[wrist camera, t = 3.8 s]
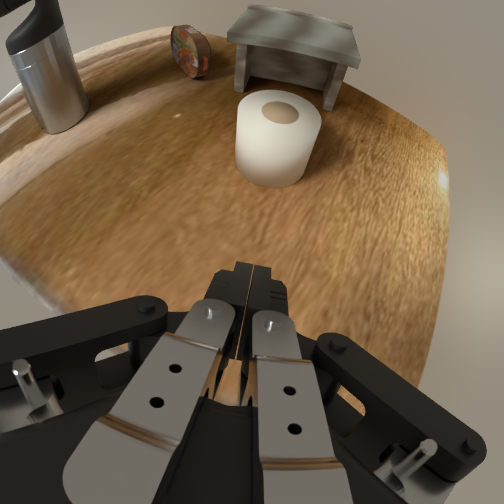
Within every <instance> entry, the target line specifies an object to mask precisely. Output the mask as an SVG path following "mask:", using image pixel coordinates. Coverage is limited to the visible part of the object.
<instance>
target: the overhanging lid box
mask: <svg viewBox="0 0 504 504" xmlns="http://www.w3.org/2000/svg"><path fill="white" fill-rule="evenodd" d="M352 29H353V27H352V25H349V24H345V23H342V22H339V21H335V20H332V19H328V18H324V17H320V16H315V15H312V14H307V13H303V12H298V11H293V10H286V9H281V8H274V7H267V6H260V5H252V4H250V5H249V6H248V9H247V10H246V11H245V12H244V13H243V14H242V16H241V17H240V18H239V19H238V20H237V22H236V23H235V24H234V25H233V26H232V27H231V28H230V30H229V31H228V32H227V42H232V43H237V49H236V64H235V80H234V91H235V92H242V93H243V91H244V89H245V87H246V84H247V82H248V80H249V77H250V76H255V77H261V78H267V79H272V80H277V81H282V82H287V83H292V84H297V85H301V86H305V87H309V88H313V89H317V90H321V91H323V109H324V110H327V111H331V112H332V109H333V106H334V103H335V101H336V98H337V95H338V93H339V90H340V87H341V84H342V81H343V79H344V76H345V73H346V70H347V68H348V66H349V67H352V68H356V69H358V67H359V64H360V61H361V58H360V54H359V51H358V48H357V45H356V41H355V38H354V35H353V33H352Z"/></svg>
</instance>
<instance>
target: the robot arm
mask: <svg viewBox="0 0 504 504" xmlns="http://www.w3.org/2000/svg"><path fill="white" fill-rule="evenodd" d="M29 1H31V0H0V17H3V16H5V15H7V14H8V13H10V12H11V11H13V10H15V9H17V8H18V7H20V6H22V5H23V4H25V3H27V2H29ZM6 48H7V51H8V53H9V56H10V58H11V60H12V63H13V66H14V68H15V70H16V72H17V75H18V77H19V79H20V81H21V84H22V86H23V89H22V92H23V94H24V96H25V98H26V100H27V102H28V104H29V106H30V108H31V110H32V112H33V114H34V116H35V118H36V120H37V122H38V124H39V126H40V127H41V128H44V130H45V132H47V133H49V134H56V133H60V132H63V131H65V130H67V129H69V128H70V127H72V126H73V125H75V124H76V123H77V122H79V121H80V120H81V119H82V118H83V117H84V116H85V114H86V113H87V111H88V109H89V102H88V99H87V96H86V94H85V91H84V88H83V85H82V82H81V79H80V76H79V73H78V70H77V67H76V64H75V61H74V57H73V54H72V51H71V47H70V44H69V41H68V37H67V34H66V30H65V26H64V23H63V19H62V15H61V11H60V7H59V3H58V0H35V7H34V9H33V10H32V12H31V13H30V14H29V16H28V17H27V18H26V19H25V20H24V21H23V23H21V24H20V25H19V26H18V27H17V28H16V29H15V30H14V31H13V32H12V33H11V34H10V36H9V37H8V38H7V40H6ZM252 268H253V264H249V263H244V262H239V261H237V262H236V265H235V268H234V271H228V270H223V269H222V270H220V271H219V272H217V273H215V275H214V277H213V279H212V281H211V284H210V286H209V288H208V290H207V292H206V294H205V297H204V299H202V300H199V301H197V302H196V303H195V304H194V305H193V306H192V308H191V309H190V311H188V312H168V306H167V304H166V303H165V302H164V301H163V300H162V299H160V298H157V297H154V296H148V295H142V296H136V297H132V298H128V299H124V300H120V301H116V302H113V303H109V304H105V305H101V306H97V307H93V308H89V309H85V310H81V311H77V312H73V313H69V314H65V315H61V316H57V317H53V318H49V319H45V320H41V321H37V322H33V323H28V324H24V325H20V326H16V327H12V328H8V329H3V330H0V504H444V502H445V500H446V499H447V497H448V496H449V494H450V492H451V491H452V489H453V487H454V486H455V484H456V483H457V482H459V481H460V480H461V479H462V478H464V477H465V476H466V475H467V474H469V473H470V472H471V471H472V470H473V469H475V468H476V467H477V466H478V465H479V464H481V463H482V462H483V461H484V459H485V457H486V452H487V450H486V445H485V442H484V440H483V439H482V437H481V436H480V435H479V434H478V433H477V432H475V431H474V430H473V429H471V428H470V427H468V426H467V425H466V424H464V423H463V422H461V421H460V420H459V419H457V418H456V417H455V416H453V415H452V414H451V413H449V412H448V411H446V410H445V409H444V408H442V407H441V406H440V405H438V404H437V403H435V402H434V401H433V400H431V399H430V398H429V397H427V396H426V395H425V394H423V393H422V392H421V391H419V390H418V389H417V388H415V387H414V386H412V385H411V384H410V383H408V382H407V381H406V380H404V379H403V378H402V377H400V376H399V375H398V374H396V373H395V372H394V371H392V370H391V369H390V368H388V367H387V366H386V365H384V364H383V363H382V362H380V361H379V360H377V359H376V358H375V357H373V356H372V355H371V354H369V353H368V352H367V351H365V350H364V349H363V348H361V347H360V346H359V345H357V344H356V343H355V342H354V341H352V340H351V339H349V338H348V337H346V336H344V335H341V334H338V333H324V334H321V335H320V336H319V337H318V339H317V341H315V340H313V339H310V338H307V337H305V336H302V335H301V334H299V333H297V332H296V329H295V325H294V322H293V321H292V320H291V318H289V314H288V301H287V288H286V286H285V285H284V284H283V283H282V281H278V280H273V279H271V268H269V267H264V266H259V265H255V266H254V270H253V275H252V280H251V285H250V279H251V274H252ZM249 285H250V289H249ZM248 290H249V294H248ZM247 296H248V299H247ZM246 301H247V304H246ZM245 307H246V309H245ZM244 312H245V315H244ZM243 316H244V320H243ZM242 321H243V326H242ZM241 326H242V331H241ZM240 331H241V337H240V342H239V348H238V353H237V359H236V360H240V361H242V365H241V370H240V374H239V382H238V403H237V406H227V405H223V404H221V403H219V402H216V401H215V399H216V396H217V393H218V391H219V388H220V385H221V382H222V379H223V376H224V372H225V368H226V367H227V365H228V361H229V358H230V359H235V355H236V350H237V345H238V340H239V336H240ZM125 343H128V349H129V351H127V352H124V353H121V354H118V355H115V356H113V357H109V358H107V359H103V360H100V361H97V362H95V357H96V356H97V354H98V353H100V352H101V351H103V350H106V349H109V348H112V347H116V346H119V345H122V344H125ZM341 385H342V386H343V387H344V388H346V389H347V390H348V391H349V392H350V393H351V394H353V395H354V396H355V397H356V398H357V399H358V400H360V401H361V402H362V403H363V405H364V407H365V411H366V412H365V416H363V415H362V414H360V413H359V412H358V411H357V410H356V409H355V408H353V407H352V406H351V405H350V404H349V403H348V402H346V401H345V400H344V399H343V398H342V397H341V396H340V395H339V394H337V392H338V390H339V388H340V387H341Z"/></svg>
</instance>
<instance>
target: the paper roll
mask: <svg viewBox="0 0 504 504" xmlns="http://www.w3.org/2000/svg"><path fill="white" fill-rule="evenodd" d="M321 122H322V121H321V116H320V114H319V112H318V110H317V109H316V108H315V107H314V106H313V105H312V104H311V103H310V102H309V101H307V100H306V99H304V98H302V97H300V96H298V95H296V94H293V93H290V92H286V91H281V90H262V91H257V92H254V93H251V94H249V95H247V96H246V97H245V98H243V99H242V100H241V102H240V103H239V106H238V114H237V130H236V146H235V164H236V167H237V169H238V171H239V172H240V174H241V175H242V176H243V177H244V178H246V179H247V180H248V181H250V182H252V183H254V184H256V185H258V186H262V187H266V188H283V187H287V186H290V185H292V184H294V183H296V182H297V181H298V180H299V179H300V178H301V177H302V175H303V173H304V171H305V168H306V165H307V163H308V160H309V157H310V155H311V152H312V149H313V146H314V144H315V141H316V138H317V135H318V132H319V130H320V127H321Z"/></svg>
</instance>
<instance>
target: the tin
mask: <svg viewBox="0 0 504 504" xmlns="http://www.w3.org/2000/svg"><path fill="white" fill-rule="evenodd" d="M171 49H172V54H173V57H174V59H175V61H176V63H177V64H178V65H179V66H180V67H181V68H182V69H183V70H184V72H185V73H186V74H187V75H188V76H189V77H190V78H192V79H193V78H196V77H200V76H205V75H207V74H208V73H209V71H210V60H211V49H210V45H209V42H208V40H207V39H206V37H205V36H204V35H202V34H201V33H200V32H198V31H197V30H195V29H194V28H192V27H191V26H189V25H181V26H174V27H173V28H172V31H171Z"/></svg>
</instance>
